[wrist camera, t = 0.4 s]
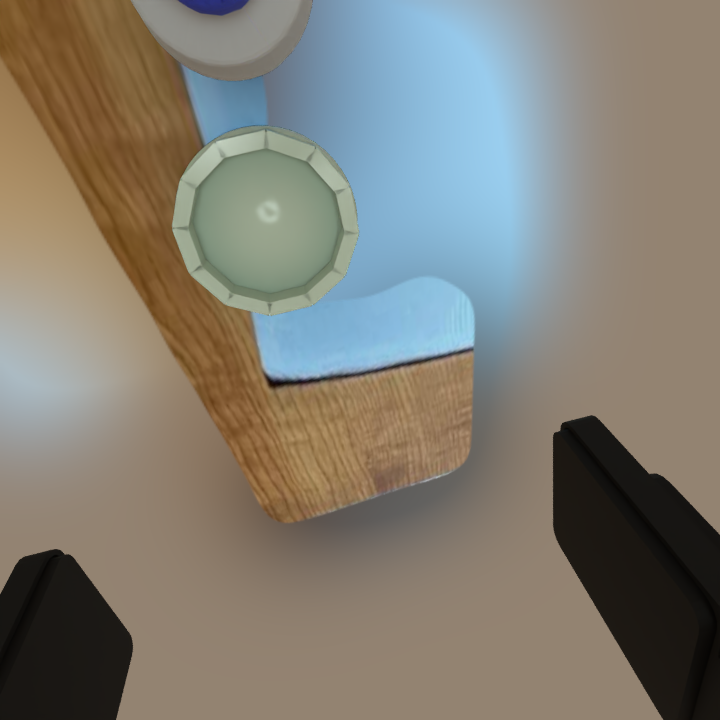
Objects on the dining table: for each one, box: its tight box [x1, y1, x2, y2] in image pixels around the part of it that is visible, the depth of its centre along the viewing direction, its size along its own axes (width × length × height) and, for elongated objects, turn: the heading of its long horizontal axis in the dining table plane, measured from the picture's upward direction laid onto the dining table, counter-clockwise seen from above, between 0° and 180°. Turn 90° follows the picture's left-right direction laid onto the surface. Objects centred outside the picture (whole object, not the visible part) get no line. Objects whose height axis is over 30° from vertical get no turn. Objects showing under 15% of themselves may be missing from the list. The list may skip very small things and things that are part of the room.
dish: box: [172, 125, 359, 316], centre depth 35 cm, size 13×13×2 cm
